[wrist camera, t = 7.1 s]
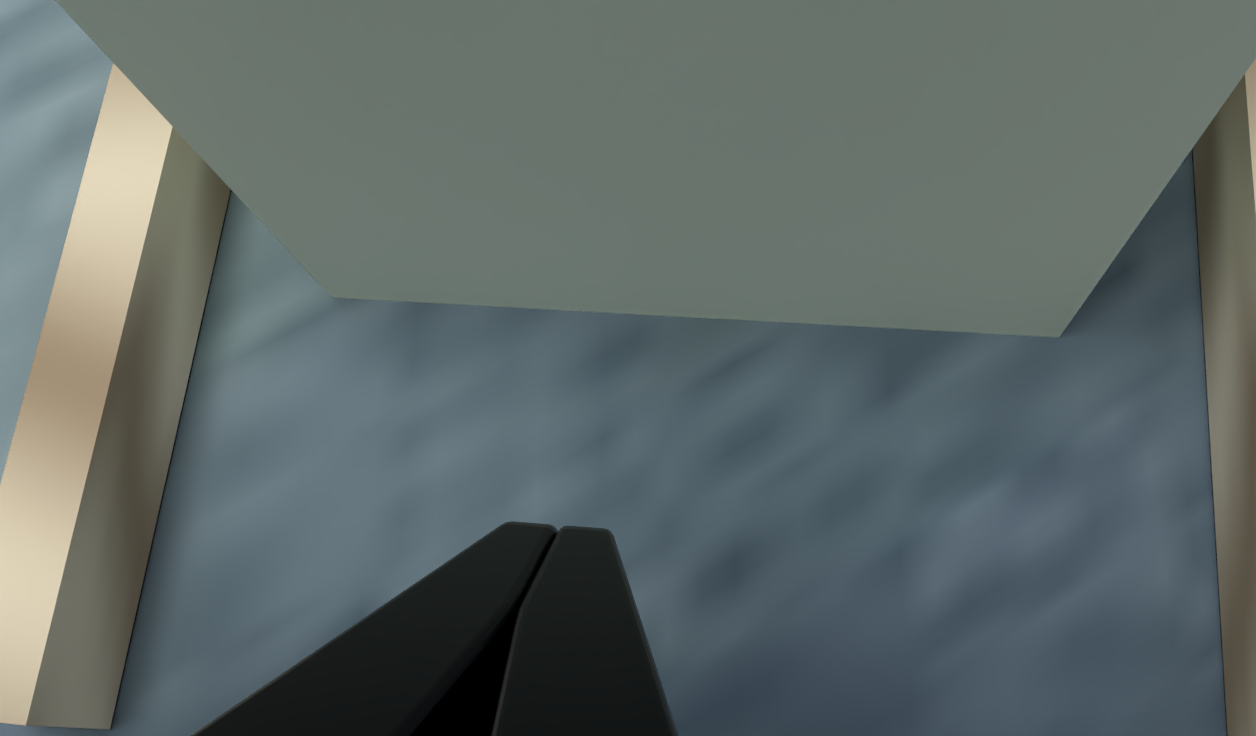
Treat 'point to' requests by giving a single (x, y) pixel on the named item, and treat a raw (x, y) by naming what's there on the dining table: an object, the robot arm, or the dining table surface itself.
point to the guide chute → (162, 357)
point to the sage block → (695, 145)
